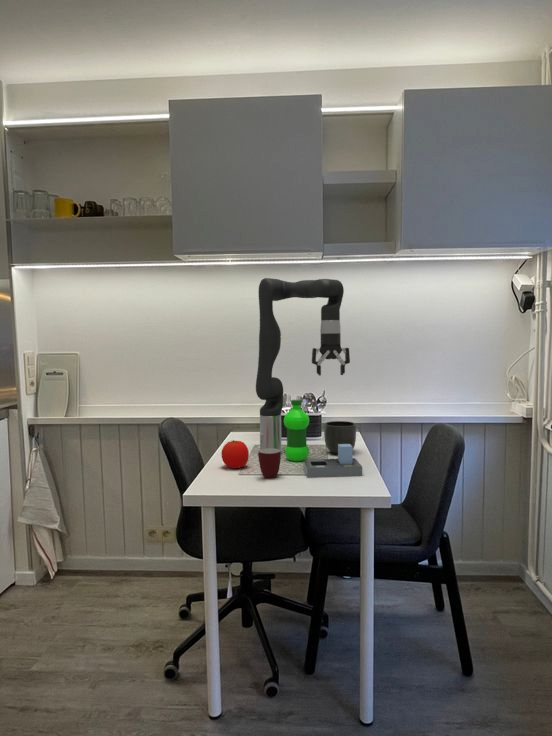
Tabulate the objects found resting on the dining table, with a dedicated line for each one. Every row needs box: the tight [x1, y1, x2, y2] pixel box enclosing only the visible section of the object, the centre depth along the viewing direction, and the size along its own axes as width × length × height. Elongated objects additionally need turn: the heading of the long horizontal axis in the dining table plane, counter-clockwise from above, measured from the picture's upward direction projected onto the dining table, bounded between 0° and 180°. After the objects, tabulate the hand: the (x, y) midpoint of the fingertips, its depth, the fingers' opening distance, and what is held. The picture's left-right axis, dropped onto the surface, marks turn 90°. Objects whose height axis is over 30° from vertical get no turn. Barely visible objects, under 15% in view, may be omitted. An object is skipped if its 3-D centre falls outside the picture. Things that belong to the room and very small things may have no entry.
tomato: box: [220, 439, 249, 469], centre depth 195 cm, size 10×11×11 cm
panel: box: [302, 457, 363, 479], centre depth 185 cm, size 20×12×4 cm, turn 94°
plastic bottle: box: [283, 399, 310, 462], centre depth 203 cm, size 10×10×25 cm
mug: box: [258, 448, 282, 480], centre depth 181 cm, size 10×8×10 cm
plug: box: [337, 444, 353, 465], centre depth 185 cm, size 4×4×10 cm
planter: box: [323, 420, 357, 456], centre depth 216 cm, size 14×14×13 cm
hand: (330, 375), depth 189 cm, fingers open, 8 cm apart
